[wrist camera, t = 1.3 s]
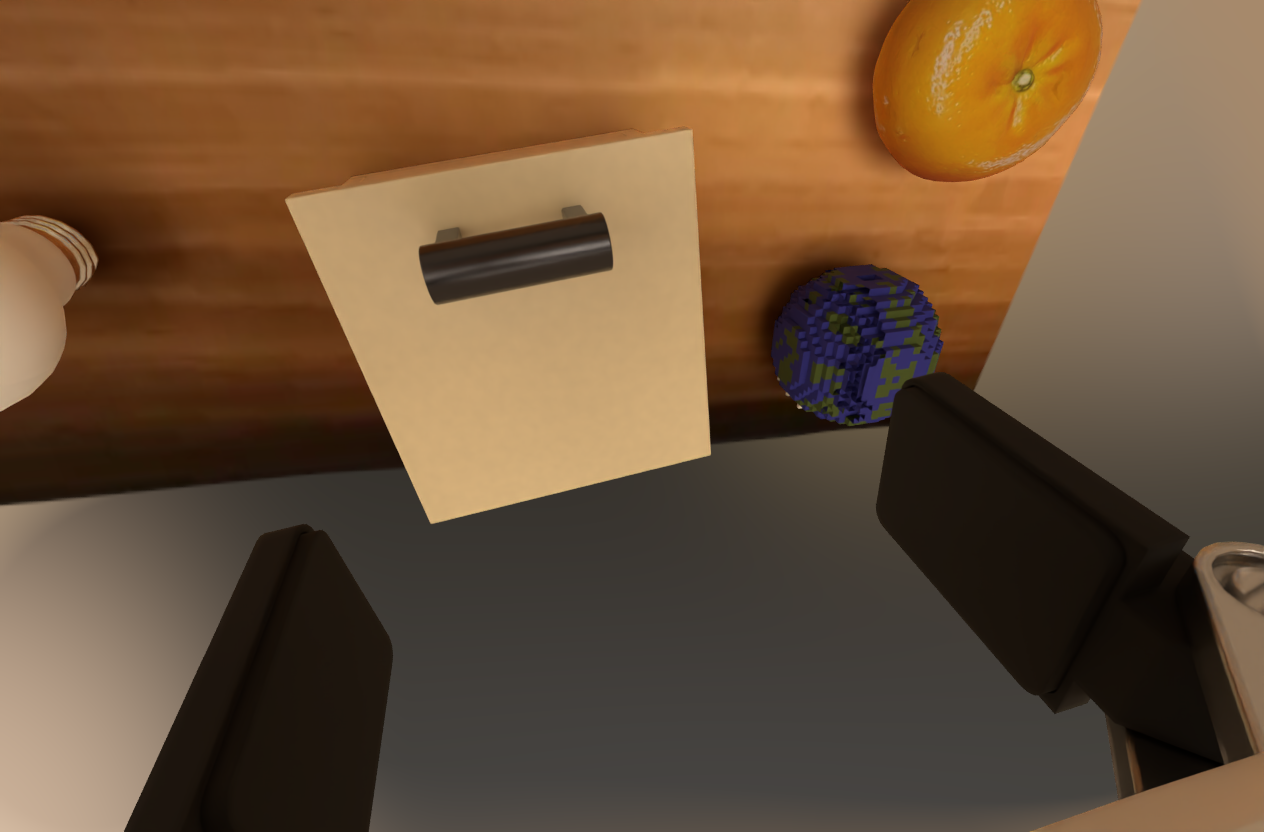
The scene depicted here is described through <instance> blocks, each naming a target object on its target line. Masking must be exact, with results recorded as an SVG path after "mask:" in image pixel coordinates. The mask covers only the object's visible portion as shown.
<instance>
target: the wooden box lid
mask: <svg viewBox="0 0 1264 832" xmlns="http://www.w3.org/2000/svg"><path fill="white" fill-rule="evenodd" d="M285 202H286V204H287V206H288V208H289V211H290V213H291V215H292V217H293V219H294V222H295V224H296V226H297V228H298V231H299V233H300V235H301V237H302V239H303V242H304V244H305V246H306V248H307V250H308V253H309V255H310V257H311V259H312V262H313V264H314V266H315V268H316V270H317V273H318V275H319V277H320V279H321V281H322V284H323V286H324V288H325V290H326V293H327V295H328V297H329V299H330V301H331V304H332V306H333V308H334V310H335V313H336V315H337V317H338V319H339V321H340V324H341V326H342V328H343V330H344V332H345V335H346V337H347V339H348V341H349V344H350V346H351V348H352V350H353V352H354V355H355V357H356V359H357V361H358V364H359V366H360V368H361V370H362V372H363V375H364V377H365V379H366V381H367V383H368V386H369V388H370V390H371V392H372V395H373V397H374V399H375V401H376V403H377V406H378V408H379V410H380V412H381V415H382V417H383V419H384V421H385V423H386V426H387V428H388V430H389V432H390V434H391V437H392V439H393V441H394V443H395V446H396V448H397V450H398V452H399V454H400V457H401V459H402V461H403V463H404V466H405V468H406V470H407V472H408V474H409V477H410V479H411V481H412V483H413V485H414V488H415V490H416V492H417V494H418V497H419V499H420V501H421V503H422V505H423V508H424V510H425V512H426V514H427V517H428V519H429V521H430V523H431V524H433V523H437V522H441V521H445V520H449V519H453V518H457V517H461V516H466V515H470V514H474V513H478V512H482V511H486V510H489V509H494V508H498V507H502V506H506V505H510V504H514V503H518V502H522V501H526V500H530V499H535V498H539V497H543V496H547V495H551V494H555V493H559V492H563V491H567V490H571V489H575V488H579V487H583V486H587V485H591V484H595V483H599V482H603V481H607V480H611V479H616V478H620V477H624V476H627V475H632V474H636V473H640V472H644V471H648V470H652V469H656V468H660V467H664V466H668V465H672V464H676V463H680V462H684V461H689V460H692V459H696V458H701V457H705V456H708V455H711V451H710V431H709V413H708V396H707V378H706V360H705V342H704V325H703V307H702V289H701V271H700V254H699V236H698V218H697V200H696V183H695V165H694V147H693V130H692V129H690V128H687V127H678V128H672V129H667V130H661V131H655V132H649V133H643V134H637V135H632V136H626V137H620V138H614V139H608V140H602V141H597V142H591V143H585V144H579V145H573V146H567V147H562V148H556V149H550V150H544V151H538V152H532V153H526V154H521V155H515V156H509V157H503V158H497V159H491V160H486V161H480V162H474V163H468V164H462V165H456V166H451V167H445V168H439V169H433V170H427V171H421V172H416V173H410V174H404V175H398V176H392V177H386V178H381V179H375V180H369V181H363V182H357V183H351V184H346V185H340V186H334V187H328V188H322V189H316V190H311V191H305V192H299V193H293V194H291V195H290V196H289V197H287V198H286V199H285Z"/></svg>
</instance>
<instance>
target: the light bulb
mask: <svg viewBox="0 0 1264 832" xmlns="http://www.w3.org/2000/svg"><path fill="white" fill-rule="evenodd" d="M98 262H99V258H98V255H97V253H96V251H95V249H94V247H93V245H92V244H91V243H90V242H89V241H88V240H87V239H86V238H85V237H84V236H83V235H82V234H81V233H80V232H79V231H78V230H76V229H74V228H73V227H71V226H69V225H68V224H66V223H64V222H63V221H60V220H57V219H53V218H50V217H47V216H43V215H21V216H19V217H16V218H13V219H10V220H6V221H4V222H0V411H2V410H4V409H6V408H7V407H9V406H11V405H13V404H15V403H16V402H18V401H20V400H22V399H24V398H25V397H27V396H29V395H31V394H32V393H33V392H34V391H35V390H36V389H37V388H38V387H39V386H40V385H41V384H42V383H43V382H44V381H45V380H46V379H47V378H48V377H49V376H50V375H51V374H52V373H53V371H54V369H55V367H56V365H57V363H58V362H59V360H60V358H61V355H62V353H63V350H64V346H65V341H66V335H67V331H66V322H65V315H64V309H63V306H64V305H65V304H66V303H67V302H68V301H69V300H70V299H71V297H72V295H73V293H74V292H75V291H77V290H79V289H80V288H82V287H84V286H86V285H87V283H88V282H89V281H90V279H91V278H92V277H93V273H94V272H95V270H96V268H97V265H98Z"/></svg>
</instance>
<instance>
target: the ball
mask: <svg viewBox="0 0 1264 832" xmlns="http://www.w3.org/2000/svg"><path fill="white" fill-rule="evenodd" d="M918 288H919V285H917V284H916V283H914V282H912V281H910V280H908V279H906V278H904V277H902V276H900V275H898V274H896V273H894V272H893V271H891V270H889V269H887V268H882V269H879V268H877V267H876V266H874V265H872V264H871V265H860V266H849V267H838V268H834V270H826V271H825V273H823V275H821V276H820V278H812V281H809V282H808V284H806V285H804V286H798V290H794V293H791V298H790V301H789V303H787V304H786V306H784V307H783V312H782V315H781V316H779V317H778V320H775V326H774V333H773V341H772V348H771V350H772V351H771V357H772V358H773V359H774V360H773V366H774V367H775V368H776V369H775V374H776V375H777V376H778V378H777V380H778V381H780V383H779V385H780V386H781V387H782V388H783V389H784V390H785V391H786V395H787V396H790V397H791V398H792V399H793V400H794V401H796V402H797V403H798V404H797V408H798V409H799V408H803V409H804V410H805V411H806V412H808V411H812V412H814V413H815V415H816V416H817V417H819V418H820V419H824V418H826V419H828V420H829V421H830V422H831V421H837V422H838V423H839V424H845V423H846V424H847V425H848V426H851V425H858V424H864V423H871V422H878V421H879V420H883V419H885V418H887V417H890V416H891V413H892V407H893V401H894V397H895V394H896V393H897V391H899V390H901V388H902V385H903V384H904V382H905V381H906V380H909V379H911V378H915V377H920V376H924V375H928V374H932V373H934V371H935V368H936V365H937V361H938V358H939V355H940V352H941V349H942V346H943V341H941V340H939V338H940V333H941V329H940V328H938V327H937V325H938V319H939V316H938V315H936V314H935V311H936V310H935V309H933V308H931V307H932V304H931V303H929V302H928V301H927V300H928V298H927V297H925V296H923V291H921V290H919V289H918Z"/></svg>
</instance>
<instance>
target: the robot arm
mask: <svg viewBox="0 0 1264 832" xmlns="http://www.w3.org/2000/svg"><path fill="white" fill-rule="evenodd" d="M876 511H877V516H878V519H879V521H880V523H881V524H882V526H883V527H884V528H885V529H886V531H887V532H888V533H889V534H890V535H891V536H892V538H893V539H894V540H895V541H896V542H897V543H898V544H899V545H900V547H901V548H902V549H903V550H904V551H905V553H906V554H907V555H908V556H909V557H910V558H911V560H912V561H913V562H914V563H915V564H916V565H917V566H918V568H919V569H920V570H921V571H922V572H923V573H924V575H925V576H926V577H927V578H928V579H929V580H930V582H931V583H932V584H933V585H934V586H935V587H936V588H937V590H938V591H939V592H940V593H941V594H942V595H943V597H944V598H945V599H946V600H947V601H948V602H949V603H950V605H951V606H952V607H953V608H954V609H955V610H956V612H958V614H959V615H960V616H961V617H962V619H963V620H964V621H965V622H966V623H967V624H968V626H969V627H970V628H971V629H972V630H973V631H974V632H975V633H976V635H977V636H978V637H979V638H980V639H981V640H982V642H983V643H984V644H985V645H986V646H987V647H988V649H989V650H990V651H991V652H992V653H993V654H994V656H995V657H996V658H997V659H998V660H999V661H1000V663H1001V664H1002V665H1003V666H1004V667H1005V668H1006V669H1007V671H1008V672H1009V673H1010V674H1011V675H1012V676H1013V678H1014V679H1015V680H1016V681H1017V682H1018V683H1019V684H1020V685H1021V686H1022V687H1023V688H1024V689H1025V690H1026V691H1027V692H1029V693H1031V694H1033V695H1039V696H1040V698H1041V699H1042V700H1043V701H1044V702H1045V703H1046V704H1047V706H1048V707H1049V708H1050V709H1051V710H1052V711H1053V712H1054V714H1056V713H1059V712H1062V711H1065V710H1068V709H1071V708H1074V707H1077V706H1080V705H1083V704H1086V703H1088V701H1089V699H1090V698H1091V699H1092V700H1093V701H1094V702H1095V703H1096V704H1097V705H1098V706H1099V707H1100V709H1102V711H1103V712H1104V713H1105V717H1106V722H1107V729H1108V736H1109V743H1110V749H1111V755H1112V762H1113V768H1114V775H1115V781H1116V787H1117V794H1118V801H1115V802H1113V803H1110V804H1107V805H1104V806H1101V807H1098V808H1096V809H1093V810H1090V811H1087V812H1084V813H1081V814H1079V815H1076V816H1073V817H1070V818H1067V819H1065V820H1061V821H1059V822H1056V823H1053V824H1050V825H1047V826H1045V827H1042V828H1039V829H1036V830H1033V831H1030V832H1264V546H1262V545H1258V544H1251V543H1243V542H1234V541H1233V542H1221V543H1214V544H1212V545H1210V546H1207V547H1205V548H1202V549H1201V551H1200V552H1199V553H1198V555H1197V556H1196V557H1195V559H1194V558H1192V557H1191V556H1190V555H1188V554H1187V553H1185V552H1184V551H1182V549H1183V547H1184V546H1185V544H1186V542H1187V541H1188V539H1189V536H1188V535H1186V534H1185V533H1183V532H1182V531H1180V530H1179V529H1177V528H1176V527H1174V526H1173V525H1171V524H1170V523H1169V522H1167V521H1166V520H1164V519H1163V518H1161V517H1160V516H1158V515H1156V514H1155V513H1154V512H1152V511H1151V510H1149V509H1148V508H1146V507H1145V506H1143V505H1142V504H1140V503H1139V502H1137V501H1136V500H1134V499H1133V498H1131V497H1130V496H1128V495H1127V494H1125V493H1124V492H1123V491H1121V490H1119V489H1118V488H1116V487H1115V486H1114V485H1112V484H1110V483H1109V482H1108V481H1106V480H1105V479H1103V478H1102V477H1100V476H1099V475H1097V474H1096V473H1094V472H1093V471H1091V470H1090V469H1088V468H1087V467H1085V466H1084V465H1082V464H1081V463H1080V462H1078V461H1077V460H1075V459H1074V458H1072V457H1071V456H1069V455H1068V454H1066V453H1065V452H1063V451H1062V450H1060V449H1059V448H1057V447H1056V446H1054V445H1053V444H1051V443H1050V442H1048V441H1047V440H1045V439H1044V438H1042V437H1041V436H1039V435H1038V434H1036V433H1035V432H1033V431H1032V430H1031V429H1029V428H1028V427H1026V426H1025V425H1023V424H1021V423H1020V422H1019V421H1017V420H1016V419H1014V418H1013V417H1011V416H1010V415H1008V414H1007V413H1005V412H1004V411H1002V410H1001V409H999V408H998V407H996V406H995V405H993V404H992V403H990V402H989V401H987V400H986V399H984V398H983V397H982V396H980V395H978V394H977V393H976V392H974V391H973V390H971V389H970V388H968V387H967V386H965V385H964V384H962V383H961V382H959V381H958V380H956V379H955V378H953V377H952V376H950V375H949V374H946V373H944V372H936V373H932V374H928V375H924V376H920V377H915V378H911V379H909V380H906V381H905V382H904V384H903V385H902V388H901V390H899V391H897V393H896V394H895V397H894V401H893V407H892V413H891V419H890V425H889V431H888V437H887V443H886V450H885V455H884V461H883V467H882V473H881V479H880V485H879V491H878V497H877V504H876ZM392 660H393V650H392V644H391V641H390V638H389V636H388V634H387V632H386V631H385V629H384V627H383V626H382V624H381V622H380V621H379V619H378V617H377V616H376V614H375V612H374V611H373V610H372V607H371V606H370V604H369V602H368V601H367V599H366V598H365V596H364V594H363V592H362V591H361V589H360V587H359V586H358V584H357V583H356V581H355V579H354V578H353V576H352V574H351V573H350V571H349V569H348V568H347V566H346V564H345V563H344V561H343V559H342V558H341V556H340V554H339V553H338V551H337V549H336V548H335V546H334V544H333V543H332V541H331V539H330V538H329V536H328V535H327V533H326V532H324V531H323V530H319V531H314V530H313V529H312V527H310V526H308V525H307V524H302V525H298V526H293V527H289V528H285V529H281V530H277V531H272V532H268V533H265V534H263V535H261V536H260V537H259V539H258V540H257V542H256V544H255V546H254V548H253V551H252V553H251V555H250V557H249V559H248V561H247V564H246V566H245V568H244V570H243V572H242V575H241V577H240V579H239V581H238V583H237V586H236V588H235V590H234V592H233V595H232V597H231V599H230V601H229V603H228V605H227V607H226V610H225V612H224V614H223V616H222V619H221V621H220V623H219V625H218V627H217V630H216V632H215V634H214V636H213V638H212V640H211V643H210V645H209V647H208V649H207V651H206V654H205V656H204V657H203V660H202V662H201V664H200V666H199V668H198V670H197V673H196V675H195V677H194V679H193V682H192V684H191V686H190V688H189V690H188V693H187V694H186V697H185V699H184V701H183V704H182V705H181V708H180V710H179V712H178V714H177V716H176V719H175V721H174V723H173V725H172V727H171V730H170V732H169V734H168V737H167V738H166V741H165V743H164V745H163V747H162V749H161V751H160V754H159V756H158V758H157V760H156V762H155V765H154V767H153V769H152V771H151V774H150V775H149V778H148V780H147V782H146V784H145V786H144V789H143V791H142V793H141V795H140V797H139V800H138V802H137V804H136V806H135V808H134V810H133V813H132V815H131V817H130V819H129V821H128V824H127V826H126V828H125V830H124V832H369V824H370V817H371V810H372V803H373V796H374V789H375V782H376V775H377V768H378V761H379V754H380V746H381V740H382V733H383V725H384V718H385V711H386V704H387V696H388V690H389V683H390V676H391V669H392Z"/></svg>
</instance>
